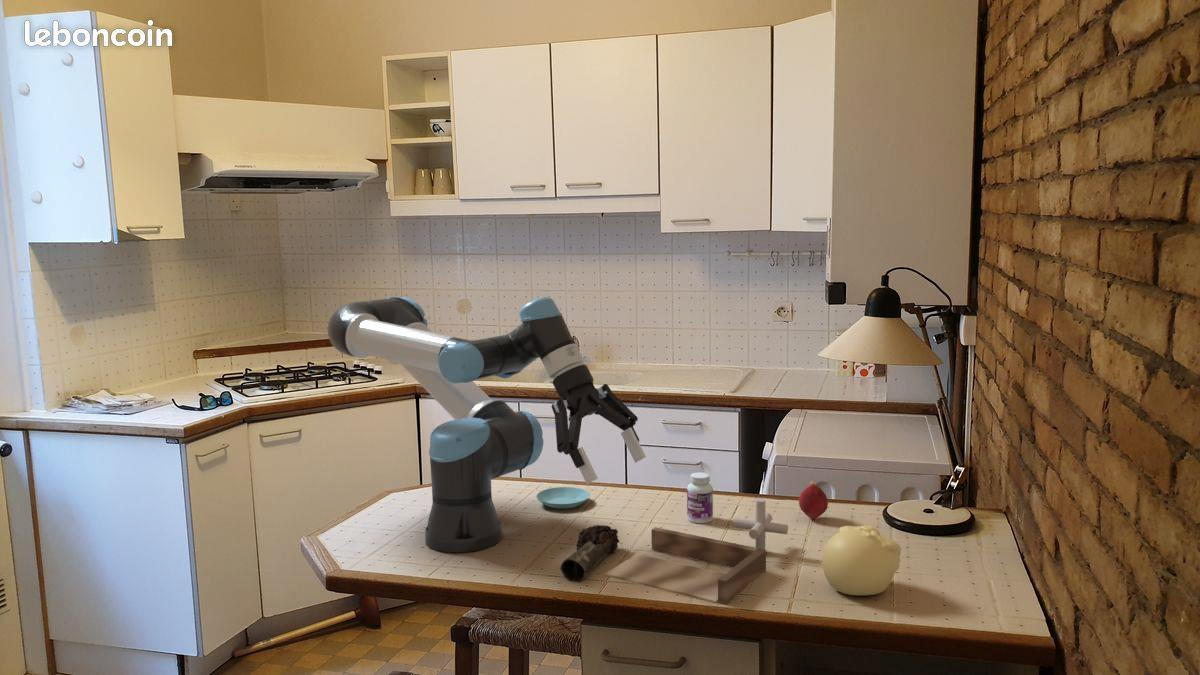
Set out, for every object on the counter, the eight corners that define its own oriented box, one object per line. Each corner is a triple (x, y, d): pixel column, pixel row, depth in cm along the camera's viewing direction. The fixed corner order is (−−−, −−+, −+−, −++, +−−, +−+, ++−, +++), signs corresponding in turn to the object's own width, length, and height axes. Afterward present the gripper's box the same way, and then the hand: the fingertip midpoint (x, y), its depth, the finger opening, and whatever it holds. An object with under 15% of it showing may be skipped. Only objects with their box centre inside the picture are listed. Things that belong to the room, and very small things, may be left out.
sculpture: (910, 591, 150) (911, 529, 149) (860, 609, 144) (862, 545, 142) (856, 569, 160) (857, 511, 158) (808, 586, 153) (808, 525, 152)
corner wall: (609, 575, 159) (609, 554, 159) (655, 547, 172) (655, 527, 172) (726, 604, 147) (726, 581, 146) (766, 571, 160) (766, 549, 159)
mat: (604, 575, 160) (604, 573, 159) (636, 555, 169) (636, 553, 169) (715, 602, 147) (715, 601, 147) (744, 579, 156) (744, 577, 156)
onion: (831, 517, 187) (831, 480, 186) (822, 525, 182) (822, 487, 181) (804, 513, 190) (804, 476, 189) (794, 521, 185) (794, 483, 184)
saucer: (597, 499, 203) (597, 489, 203) (577, 515, 192) (577, 505, 192) (550, 494, 207) (549, 484, 207) (527, 510, 196) (527, 500, 196)
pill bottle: (685, 523, 185) (684, 478, 184) (688, 514, 190) (688, 470, 189) (711, 524, 184) (711, 479, 183) (714, 516, 189) (714, 471, 188)
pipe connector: (792, 546, 171) (793, 495, 170) (780, 564, 162) (780, 511, 161) (741, 539, 176) (741, 489, 174) (727, 557, 167) (726, 505, 165)
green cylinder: (585, 585, 156) (584, 554, 155) (551, 580, 159) (549, 549, 158) (624, 549, 172) (623, 521, 171) (592, 545, 175) (591, 517, 174)
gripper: (530, 378, 164) (582, 484, 160) (622, 350, 181) (671, 444, 177) (510, 395, 169) (559, 497, 165) (601, 365, 186) (647, 458, 182)
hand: (617, 470), depth 171 cm, fingers open, 13 cm apart
